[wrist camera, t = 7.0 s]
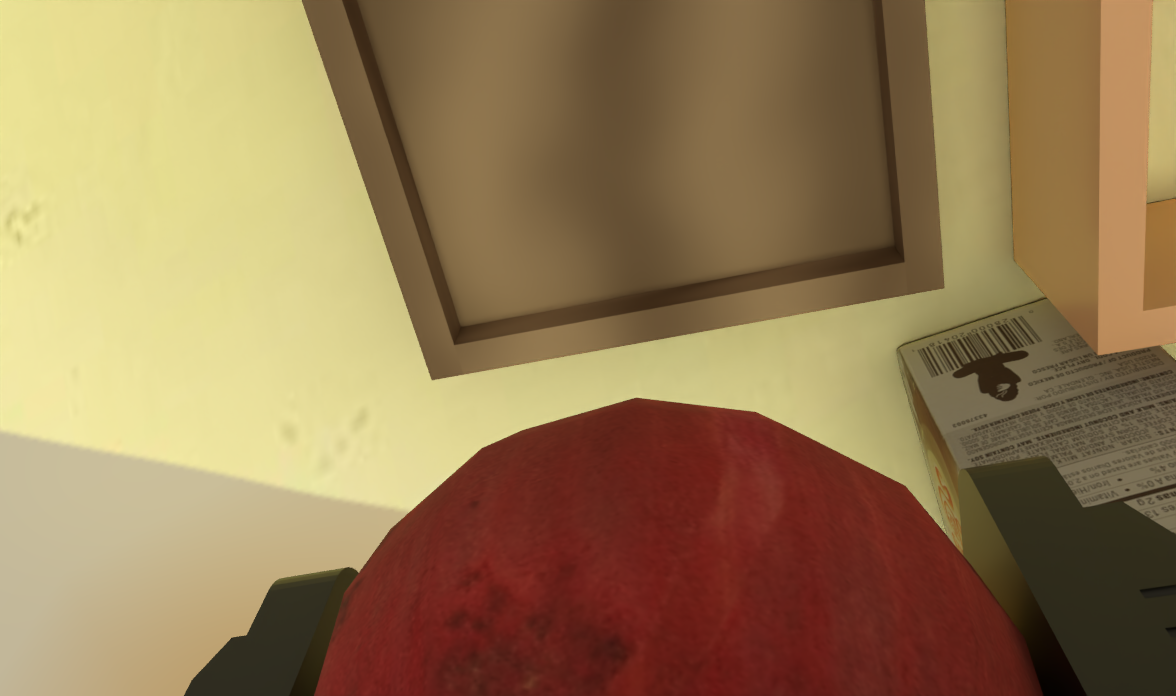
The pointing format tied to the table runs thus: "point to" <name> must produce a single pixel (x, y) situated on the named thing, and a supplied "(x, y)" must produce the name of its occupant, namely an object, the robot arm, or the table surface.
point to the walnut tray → (635, 163)
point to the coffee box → (1045, 410)
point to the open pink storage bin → (1089, 169)
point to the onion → (670, 574)
